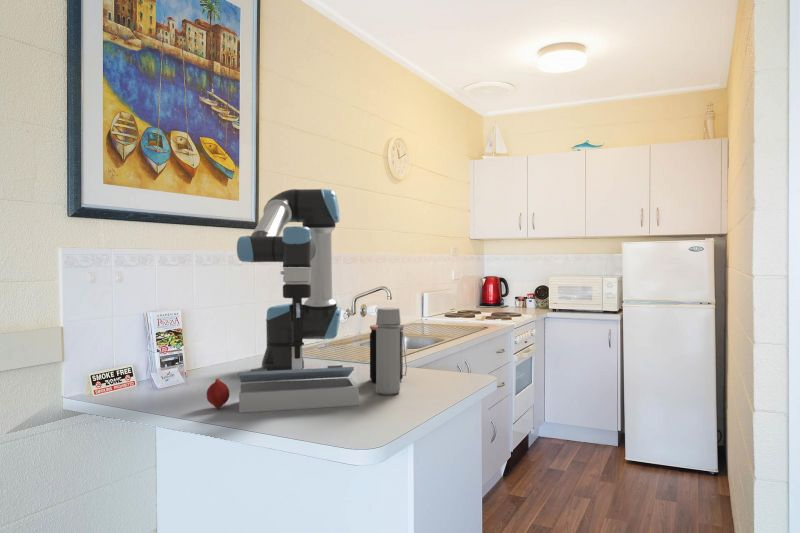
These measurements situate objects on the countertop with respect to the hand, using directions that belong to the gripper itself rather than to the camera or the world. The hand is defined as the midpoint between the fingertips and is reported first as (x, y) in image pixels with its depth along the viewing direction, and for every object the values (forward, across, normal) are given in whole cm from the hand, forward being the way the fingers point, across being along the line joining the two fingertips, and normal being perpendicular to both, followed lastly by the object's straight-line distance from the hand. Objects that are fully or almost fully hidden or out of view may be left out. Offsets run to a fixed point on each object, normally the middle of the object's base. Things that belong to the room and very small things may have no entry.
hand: (297, 369), depth 152 cm
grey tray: (+10, -2, 0) cm, 10 cm away
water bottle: (+10, -8, +28) cm, 31 cm away
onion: (+10, -2, -21) cm, 23 cm away
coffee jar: (+9, -24, +30) cm, 39 cm away
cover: (+4, -8, 0) cm, 9 cm away
